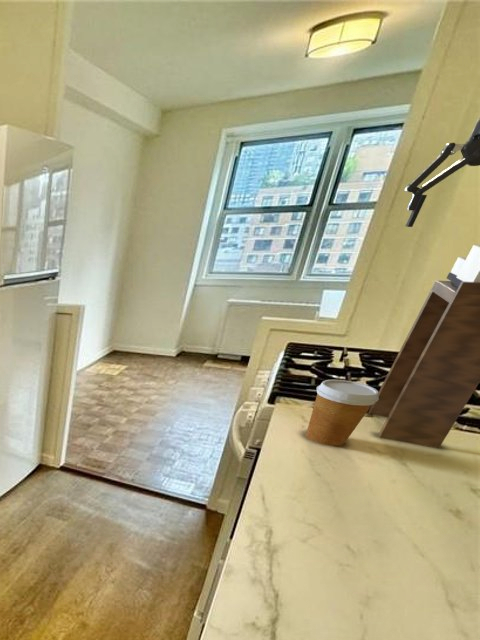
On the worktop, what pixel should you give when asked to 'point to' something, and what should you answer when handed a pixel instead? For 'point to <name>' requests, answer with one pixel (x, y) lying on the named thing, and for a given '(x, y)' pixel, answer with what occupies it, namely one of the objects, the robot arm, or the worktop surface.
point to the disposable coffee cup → (339, 410)
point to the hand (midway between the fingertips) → (450, 227)
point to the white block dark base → (466, 268)
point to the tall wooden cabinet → (433, 368)
